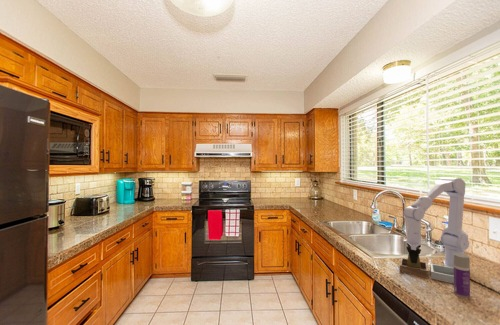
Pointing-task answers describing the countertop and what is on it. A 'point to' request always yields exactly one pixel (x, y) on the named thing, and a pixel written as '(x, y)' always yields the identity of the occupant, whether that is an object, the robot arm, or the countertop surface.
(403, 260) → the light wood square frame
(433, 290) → the countertop surface
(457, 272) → the container
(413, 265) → the olive rounded piece
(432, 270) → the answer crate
